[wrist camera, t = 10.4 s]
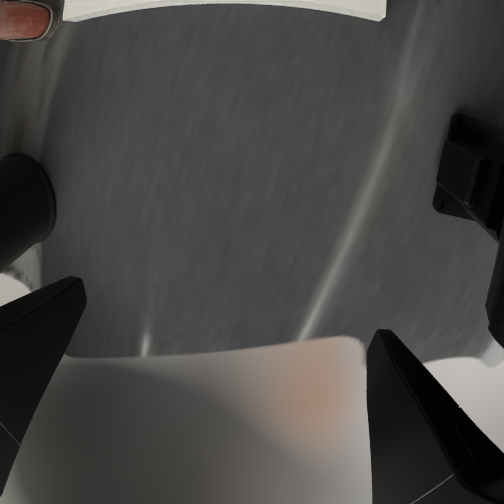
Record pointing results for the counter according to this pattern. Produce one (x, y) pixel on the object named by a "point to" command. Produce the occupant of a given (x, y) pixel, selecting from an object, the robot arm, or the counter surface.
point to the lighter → (27, 20)
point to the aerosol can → (23, 206)
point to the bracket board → (104, 3)
